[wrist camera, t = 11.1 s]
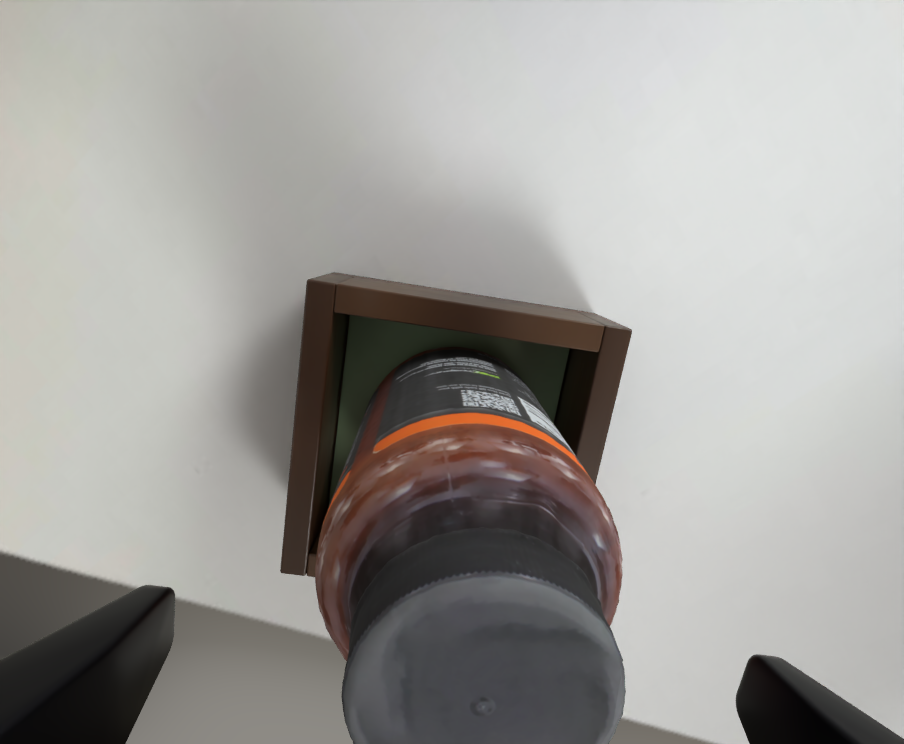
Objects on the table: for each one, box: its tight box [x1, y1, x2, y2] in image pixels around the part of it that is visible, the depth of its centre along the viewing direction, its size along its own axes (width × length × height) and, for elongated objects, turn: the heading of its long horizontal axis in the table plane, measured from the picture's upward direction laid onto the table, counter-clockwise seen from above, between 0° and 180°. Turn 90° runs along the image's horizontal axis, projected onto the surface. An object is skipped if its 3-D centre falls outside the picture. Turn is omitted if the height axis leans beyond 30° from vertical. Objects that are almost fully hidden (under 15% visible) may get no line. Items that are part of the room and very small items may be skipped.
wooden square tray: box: [280, 272, 632, 577], centre depth 17 cm, size 9×9×4 cm
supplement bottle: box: [315, 347, 626, 744], centre depth 13 cm, size 6×6×11 cm
